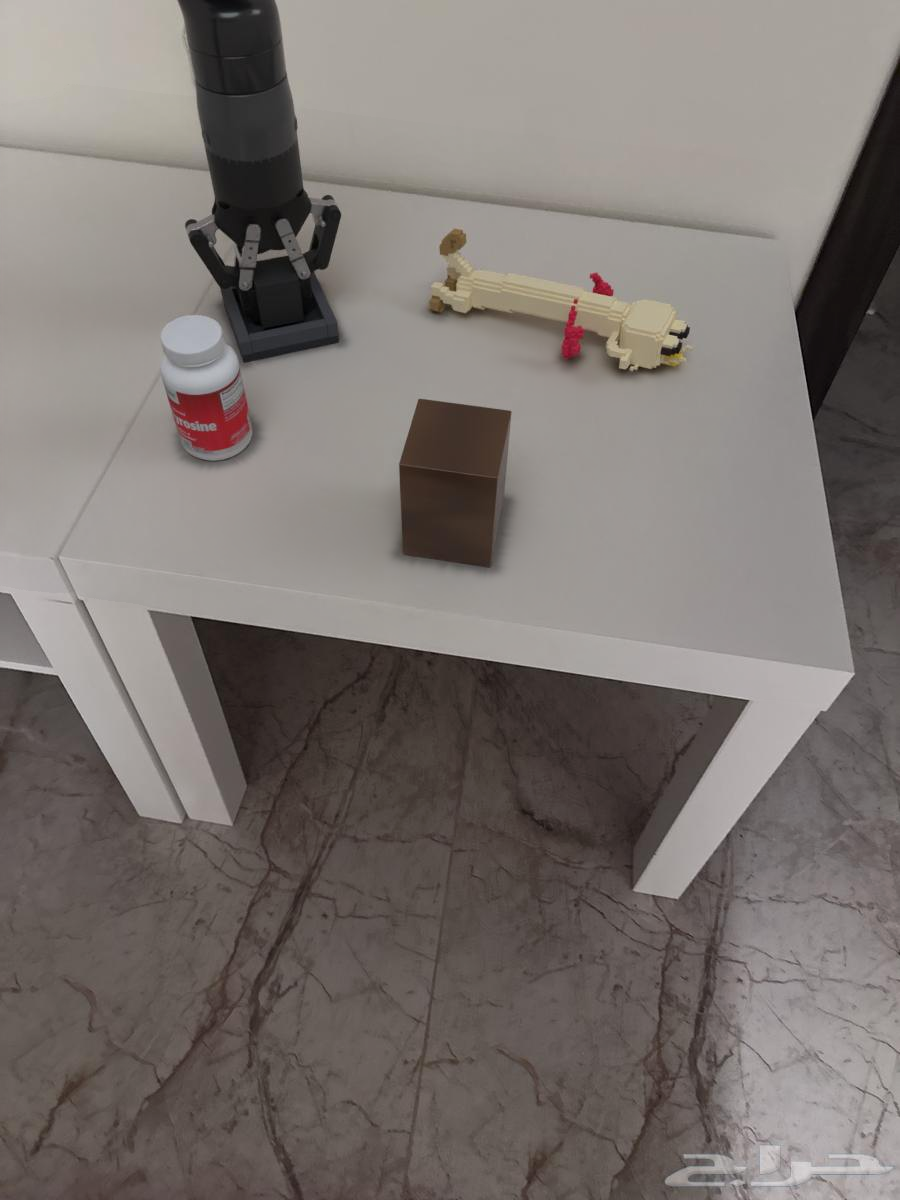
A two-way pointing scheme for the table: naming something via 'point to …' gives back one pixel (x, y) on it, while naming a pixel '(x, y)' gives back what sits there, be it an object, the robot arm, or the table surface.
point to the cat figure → (566, 309)
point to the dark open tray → (281, 327)
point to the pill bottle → (204, 388)
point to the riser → (453, 481)
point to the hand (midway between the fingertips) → (278, 311)
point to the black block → (277, 292)
